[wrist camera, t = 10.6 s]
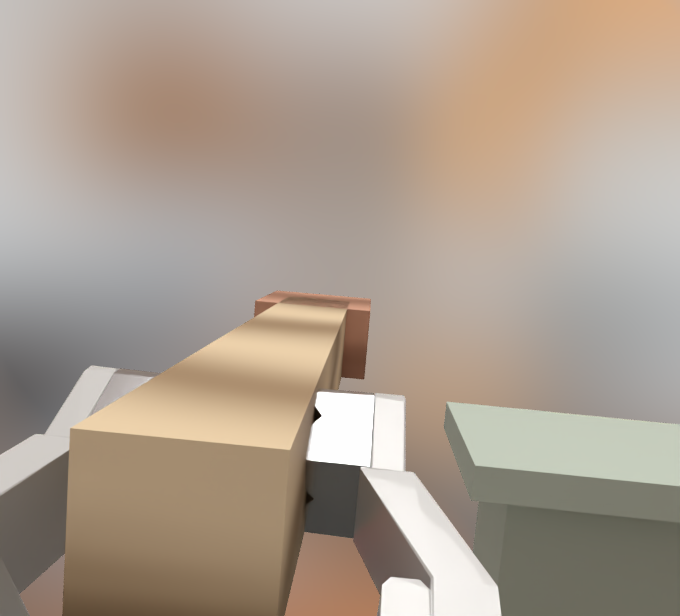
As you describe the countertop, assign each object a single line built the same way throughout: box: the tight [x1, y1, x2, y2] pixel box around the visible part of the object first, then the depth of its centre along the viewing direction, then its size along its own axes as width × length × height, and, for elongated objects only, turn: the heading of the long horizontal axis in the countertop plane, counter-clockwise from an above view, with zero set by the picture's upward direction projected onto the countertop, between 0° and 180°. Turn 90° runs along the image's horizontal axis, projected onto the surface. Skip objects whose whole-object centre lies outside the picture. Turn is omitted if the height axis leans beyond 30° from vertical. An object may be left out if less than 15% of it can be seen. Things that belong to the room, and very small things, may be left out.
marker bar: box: [62, 291, 371, 616], centre depth 17 cm, size 20×4×2 cm, turn 177°
